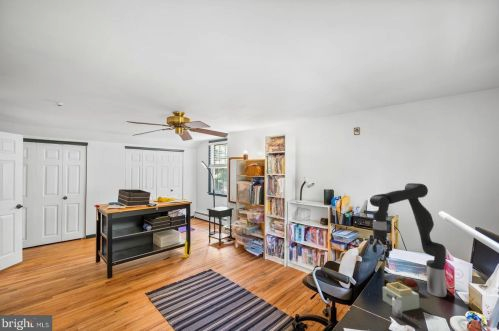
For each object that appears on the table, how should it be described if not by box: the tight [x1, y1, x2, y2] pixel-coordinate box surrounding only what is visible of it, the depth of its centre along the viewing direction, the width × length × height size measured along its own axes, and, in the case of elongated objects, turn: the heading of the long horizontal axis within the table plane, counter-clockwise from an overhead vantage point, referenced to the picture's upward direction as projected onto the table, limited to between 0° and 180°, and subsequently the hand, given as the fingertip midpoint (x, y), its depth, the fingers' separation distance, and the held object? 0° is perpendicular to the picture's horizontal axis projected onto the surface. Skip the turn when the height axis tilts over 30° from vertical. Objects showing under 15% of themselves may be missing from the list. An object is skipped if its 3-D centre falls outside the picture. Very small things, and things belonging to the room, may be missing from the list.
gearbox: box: [382, 282, 420, 312], centre depth 133 cm, size 14×15×10 cm
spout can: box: [391, 296, 403, 319], centre depth 120 cm, size 4×4×11 cm
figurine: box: [383, 275, 420, 293], centre depth 146 cm, size 15×9×20 cm
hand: (380, 254), depth 132 cm, fingers open, 8 cm apart
